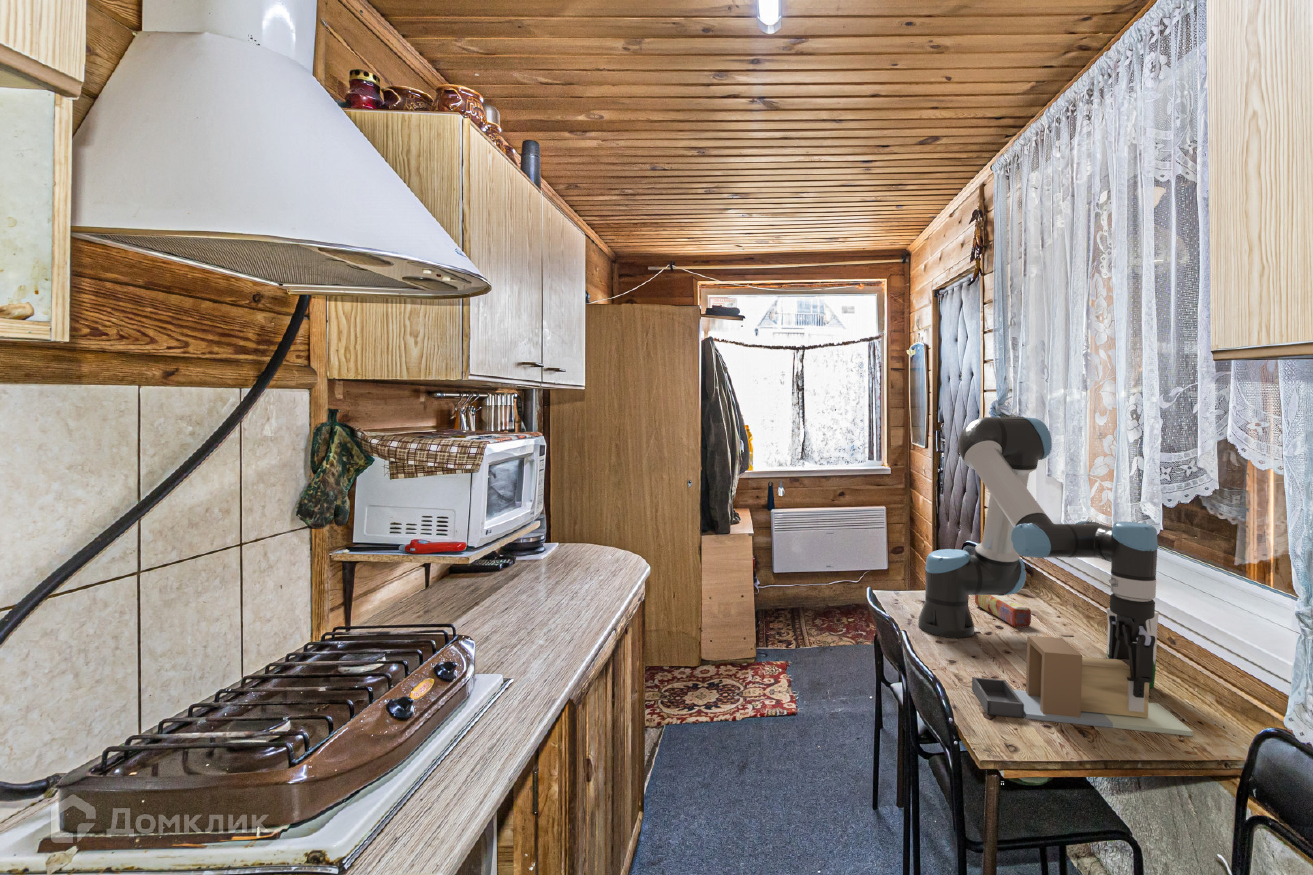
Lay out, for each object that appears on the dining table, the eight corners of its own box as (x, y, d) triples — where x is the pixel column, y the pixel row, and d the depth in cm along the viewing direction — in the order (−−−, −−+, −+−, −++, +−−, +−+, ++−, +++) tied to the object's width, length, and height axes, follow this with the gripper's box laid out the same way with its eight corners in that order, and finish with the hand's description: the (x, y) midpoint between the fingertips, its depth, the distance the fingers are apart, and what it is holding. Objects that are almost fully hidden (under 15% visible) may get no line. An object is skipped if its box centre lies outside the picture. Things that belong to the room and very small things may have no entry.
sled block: (1042, 697, 136) (1043, 652, 135) (1135, 706, 132) (1136, 659, 131) (1051, 707, 131) (1052, 661, 131) (1148, 717, 127) (1149, 669, 127)
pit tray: (971, 689, 142) (972, 677, 142) (1004, 692, 141) (1005, 680, 141) (987, 714, 131) (987, 700, 131) (1023, 718, 129) (1024, 704, 129)
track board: (1007, 693, 141) (1009, 632, 140) (1158, 707, 134) (1160, 644, 133) (1026, 718, 129) (1028, 652, 128) (1192, 736, 122) (1195, 666, 122)
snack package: (1033, 628, 184) (1034, 606, 184) (1011, 628, 184) (1012, 606, 184) (992, 606, 205) (993, 586, 205) (973, 606, 205) (973, 586, 205)
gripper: (1092, 583, 139) (1088, 683, 140) (1134, 608, 121) (1130, 722, 122) (1130, 585, 137) (1126, 687, 138) (1178, 611, 119) (1173, 727, 120)
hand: (1128, 703), depth 130 cm, fingers closed on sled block, 5 cm apart
